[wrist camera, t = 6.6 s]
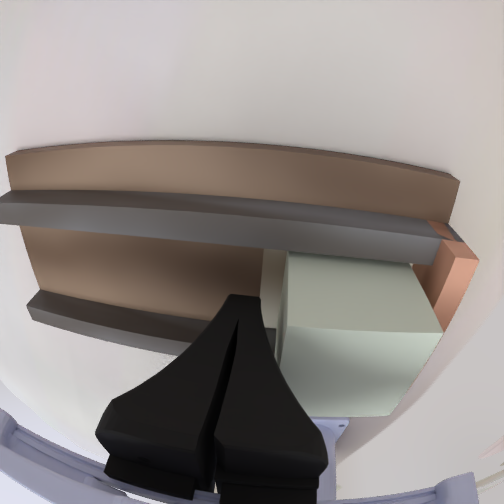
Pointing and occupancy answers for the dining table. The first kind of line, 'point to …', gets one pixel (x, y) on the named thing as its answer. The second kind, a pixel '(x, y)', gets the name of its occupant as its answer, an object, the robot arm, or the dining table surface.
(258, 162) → the chute
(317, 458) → the robot arm
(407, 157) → the dining table surface
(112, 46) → the dining table surface
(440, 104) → the dining table surface
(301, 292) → the sage block
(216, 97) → the dining table surface
